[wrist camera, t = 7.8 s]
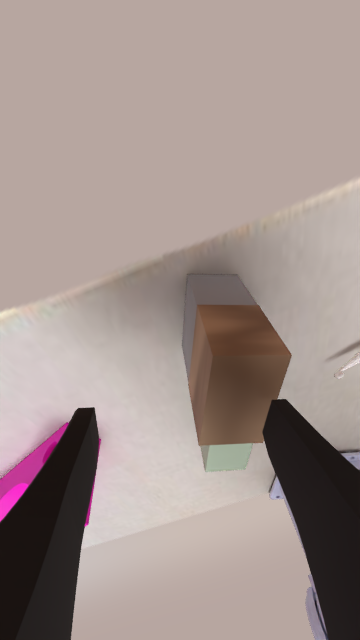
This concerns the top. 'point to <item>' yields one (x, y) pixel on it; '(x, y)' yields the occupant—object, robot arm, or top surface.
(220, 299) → the slate brick
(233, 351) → the walnut brick
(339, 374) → the toy figurine
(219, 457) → the sage brick
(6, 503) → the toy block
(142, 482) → the top surface
